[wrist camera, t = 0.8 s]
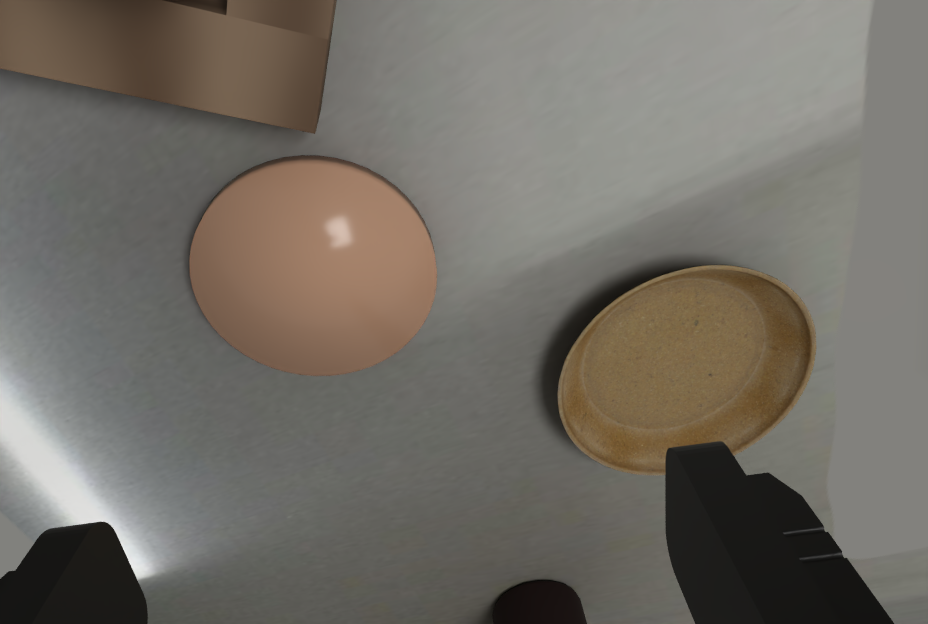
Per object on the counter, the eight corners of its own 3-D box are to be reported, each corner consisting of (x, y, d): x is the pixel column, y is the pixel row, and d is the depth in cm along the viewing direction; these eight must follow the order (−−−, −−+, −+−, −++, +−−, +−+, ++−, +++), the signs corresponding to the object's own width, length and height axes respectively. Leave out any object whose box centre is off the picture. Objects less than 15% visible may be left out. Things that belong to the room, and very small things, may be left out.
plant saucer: (565, 243, 37) (577, 267, 34) (828, 243, 38) (855, 266, 36) (535, 449, 45) (543, 480, 42) (754, 442, 46) (773, 471, 44)
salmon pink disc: (189, 345, 37) (184, 358, 36) (201, 130, 31) (195, 140, 30) (409, 375, 40) (409, 389, 39) (460, 182, 34) (462, 192, 33)
